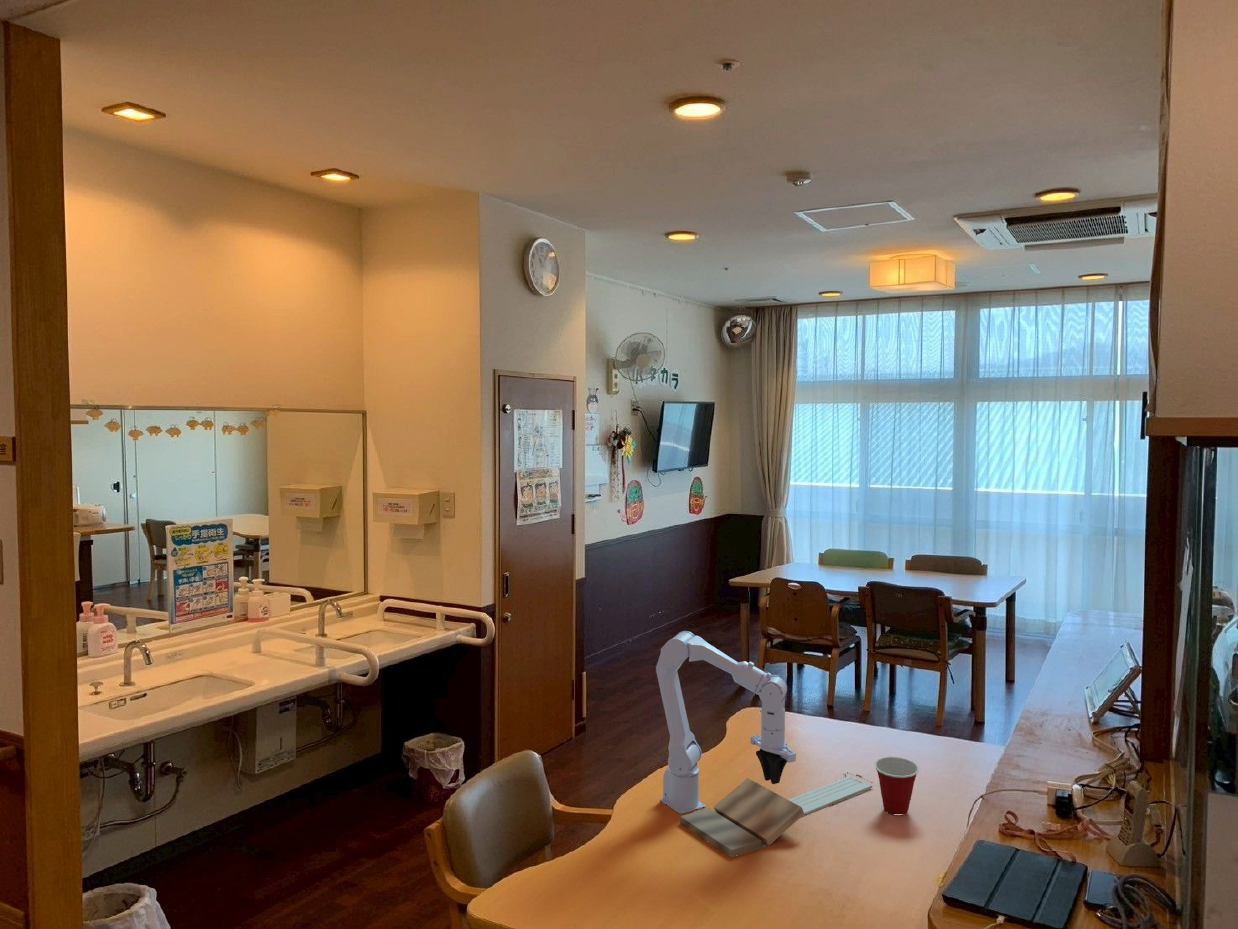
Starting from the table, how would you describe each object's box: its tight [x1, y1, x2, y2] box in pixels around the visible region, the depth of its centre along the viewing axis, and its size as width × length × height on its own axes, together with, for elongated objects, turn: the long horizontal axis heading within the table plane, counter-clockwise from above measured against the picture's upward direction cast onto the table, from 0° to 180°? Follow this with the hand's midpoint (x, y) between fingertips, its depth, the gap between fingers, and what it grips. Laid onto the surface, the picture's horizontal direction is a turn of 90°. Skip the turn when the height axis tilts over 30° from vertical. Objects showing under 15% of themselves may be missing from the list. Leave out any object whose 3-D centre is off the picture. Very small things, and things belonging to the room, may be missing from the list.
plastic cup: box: [874, 756, 920, 815], centre depth 228 cm, size 11×11×12 cm
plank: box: [713, 777, 805, 847], centre depth 220 cm, size 20×12×2 cm, turn 31°
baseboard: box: [788, 771, 873, 817], centre depth 236 cm, size 30×3×10 cm
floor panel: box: [679, 808, 768, 859], centre depth 214 cm, size 20×10×2 cm, turn 31°
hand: (772, 781), depth 222 cm, fingers closed
